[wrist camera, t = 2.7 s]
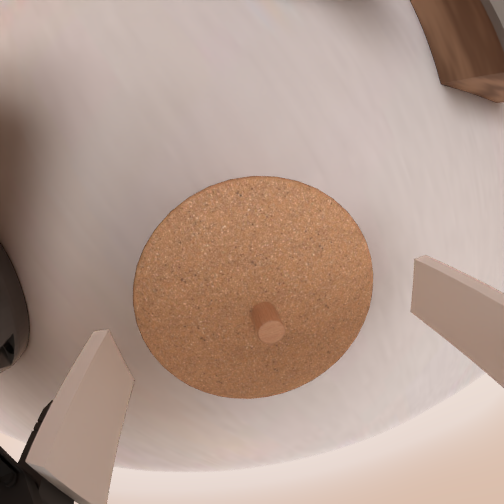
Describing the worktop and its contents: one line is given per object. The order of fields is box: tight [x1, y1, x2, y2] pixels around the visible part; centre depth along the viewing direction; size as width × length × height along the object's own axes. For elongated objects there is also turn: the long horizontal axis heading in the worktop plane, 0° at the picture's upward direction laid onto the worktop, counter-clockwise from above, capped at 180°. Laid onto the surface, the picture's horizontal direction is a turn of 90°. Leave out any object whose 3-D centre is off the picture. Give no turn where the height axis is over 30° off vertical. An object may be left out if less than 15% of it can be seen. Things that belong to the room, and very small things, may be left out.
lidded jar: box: [133, 176, 373, 399], centre depth 14 cm, size 11×11×9 cm
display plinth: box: [410, 0, 504, 103], centre depth 11 cm, size 14×14×10 cm
